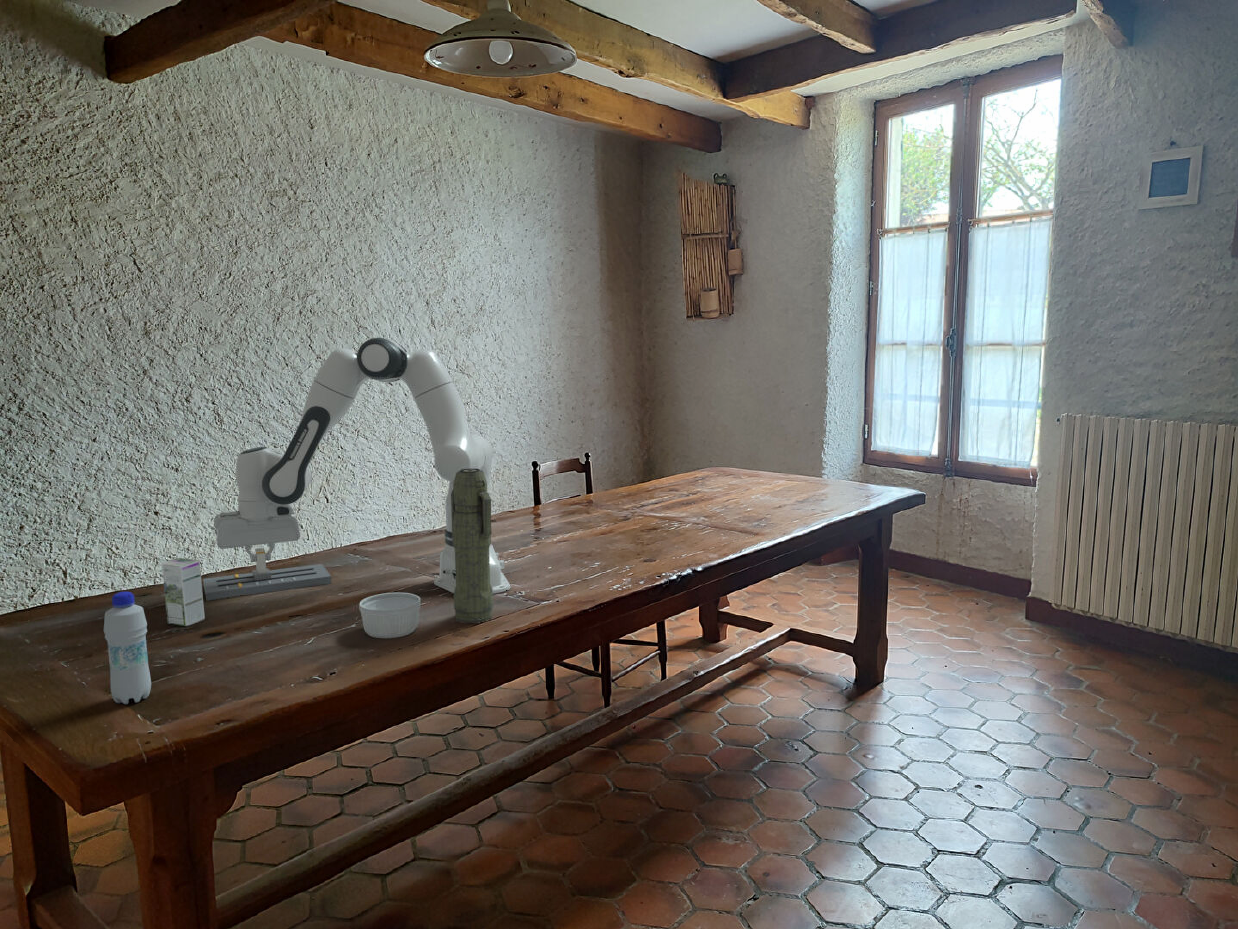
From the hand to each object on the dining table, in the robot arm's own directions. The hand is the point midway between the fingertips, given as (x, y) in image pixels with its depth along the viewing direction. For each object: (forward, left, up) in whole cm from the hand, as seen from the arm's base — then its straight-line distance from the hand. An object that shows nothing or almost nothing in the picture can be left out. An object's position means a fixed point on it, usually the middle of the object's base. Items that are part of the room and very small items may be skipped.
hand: (260, 560), depth 218 cm
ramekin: (-51, -21, -7) cm, 56 cm away
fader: (0, 0, -4) cm, 4 cm away
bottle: (-64, +29, -7) cm, 71 cm away
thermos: (-52, -40, -7) cm, 66 cm away
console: (0, -1, -7) cm, 7 cm away
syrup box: (-22, +19, -7) cm, 30 cm away
